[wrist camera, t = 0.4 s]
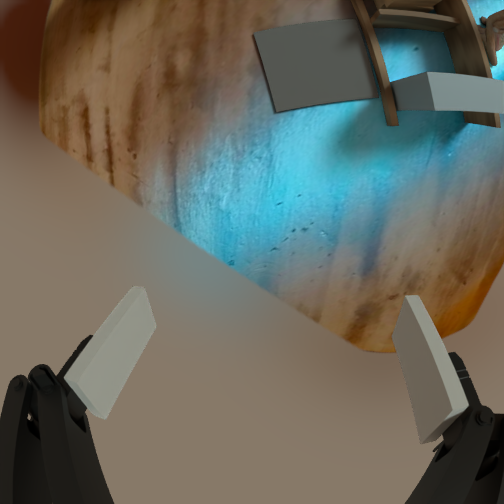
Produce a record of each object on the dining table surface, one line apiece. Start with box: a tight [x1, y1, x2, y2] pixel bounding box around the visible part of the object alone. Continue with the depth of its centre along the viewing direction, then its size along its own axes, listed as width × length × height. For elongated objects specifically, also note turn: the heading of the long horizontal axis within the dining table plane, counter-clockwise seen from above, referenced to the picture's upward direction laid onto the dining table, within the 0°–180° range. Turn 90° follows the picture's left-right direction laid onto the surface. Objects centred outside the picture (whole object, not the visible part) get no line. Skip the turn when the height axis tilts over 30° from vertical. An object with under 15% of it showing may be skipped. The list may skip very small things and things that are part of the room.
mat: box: [254, 19, 379, 112], centre depth 28 cm, size 12×14×1 cm
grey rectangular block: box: [390, 72, 504, 114], centre depth 22 cm, size 4×12×12 cm, turn 105°
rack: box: [351, 0, 501, 128], centre depth 20 cm, size 26×15×8 cm, turn 15°
